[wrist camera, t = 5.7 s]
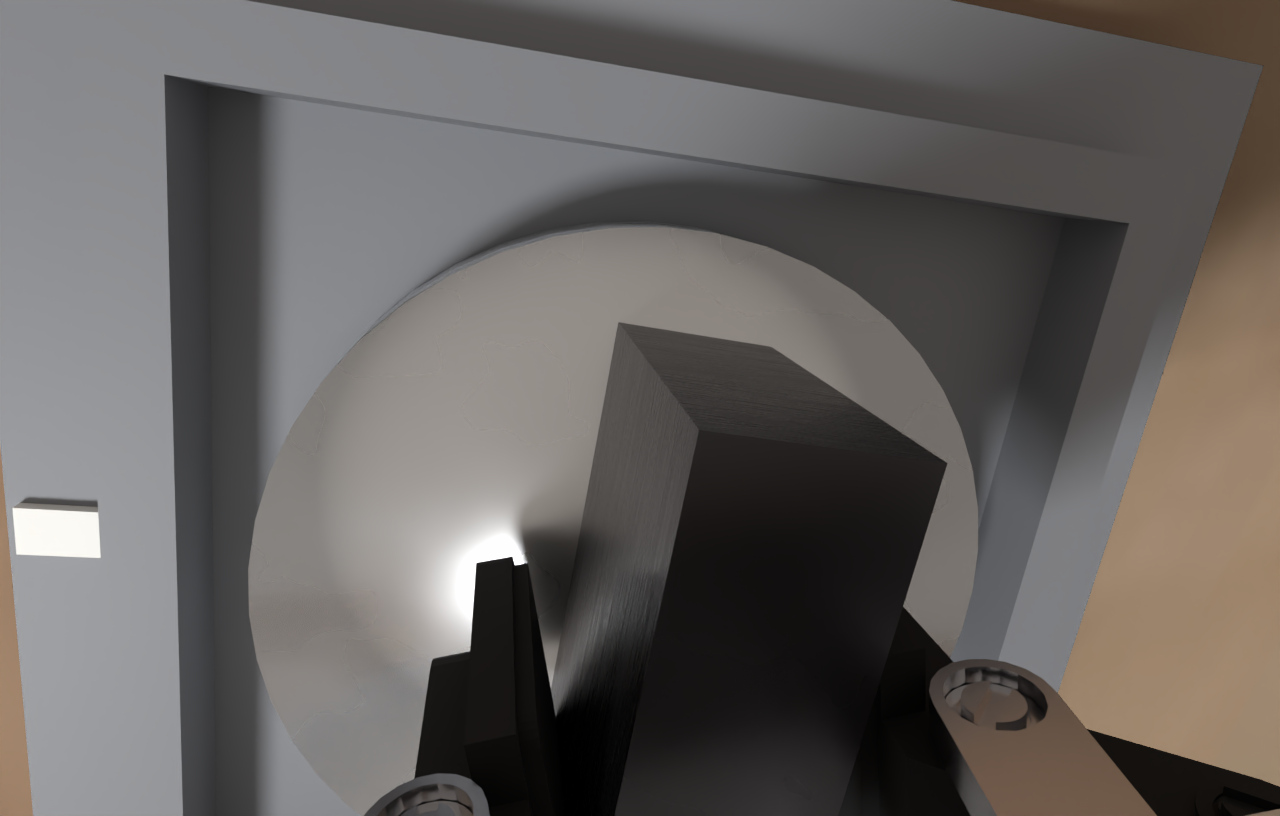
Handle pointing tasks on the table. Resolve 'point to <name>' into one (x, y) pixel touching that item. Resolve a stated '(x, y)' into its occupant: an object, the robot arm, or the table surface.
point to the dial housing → (514, 208)
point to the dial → (619, 518)
